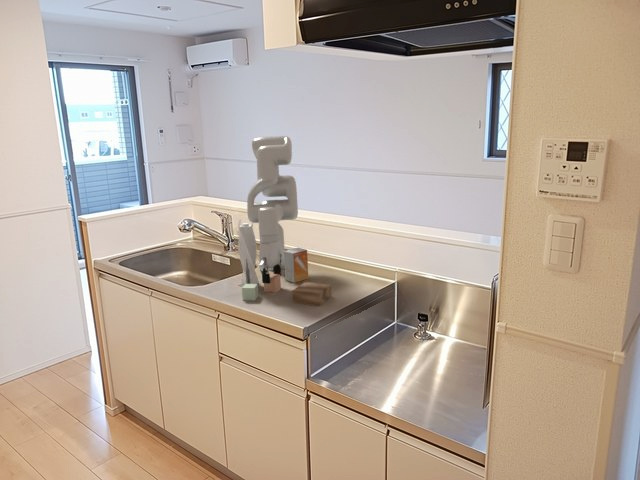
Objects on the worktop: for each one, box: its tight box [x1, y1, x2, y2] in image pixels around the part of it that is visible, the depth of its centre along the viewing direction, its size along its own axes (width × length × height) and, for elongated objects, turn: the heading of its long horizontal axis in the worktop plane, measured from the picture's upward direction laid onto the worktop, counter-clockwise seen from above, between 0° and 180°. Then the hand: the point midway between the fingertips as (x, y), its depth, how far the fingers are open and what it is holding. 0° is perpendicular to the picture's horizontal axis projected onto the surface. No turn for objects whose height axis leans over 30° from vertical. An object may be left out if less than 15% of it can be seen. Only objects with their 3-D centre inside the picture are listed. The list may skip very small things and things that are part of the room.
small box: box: [284, 247, 309, 284], centre depth 216 cm, size 8×6×13 cm
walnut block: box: [291, 281, 332, 307], centre depth 192 cm, size 11×11×5 cm
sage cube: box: [241, 284, 260, 301], centre depth 196 cm, size 5×5×5 cm
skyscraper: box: [237, 218, 262, 288], centre depth 211 cm, size 8×8×28 cm
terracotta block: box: [263, 273, 282, 293], centre depth 205 cm, size 5×5×6 cm
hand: (272, 279), depth 204 cm, fingers open, 9 cm apart
